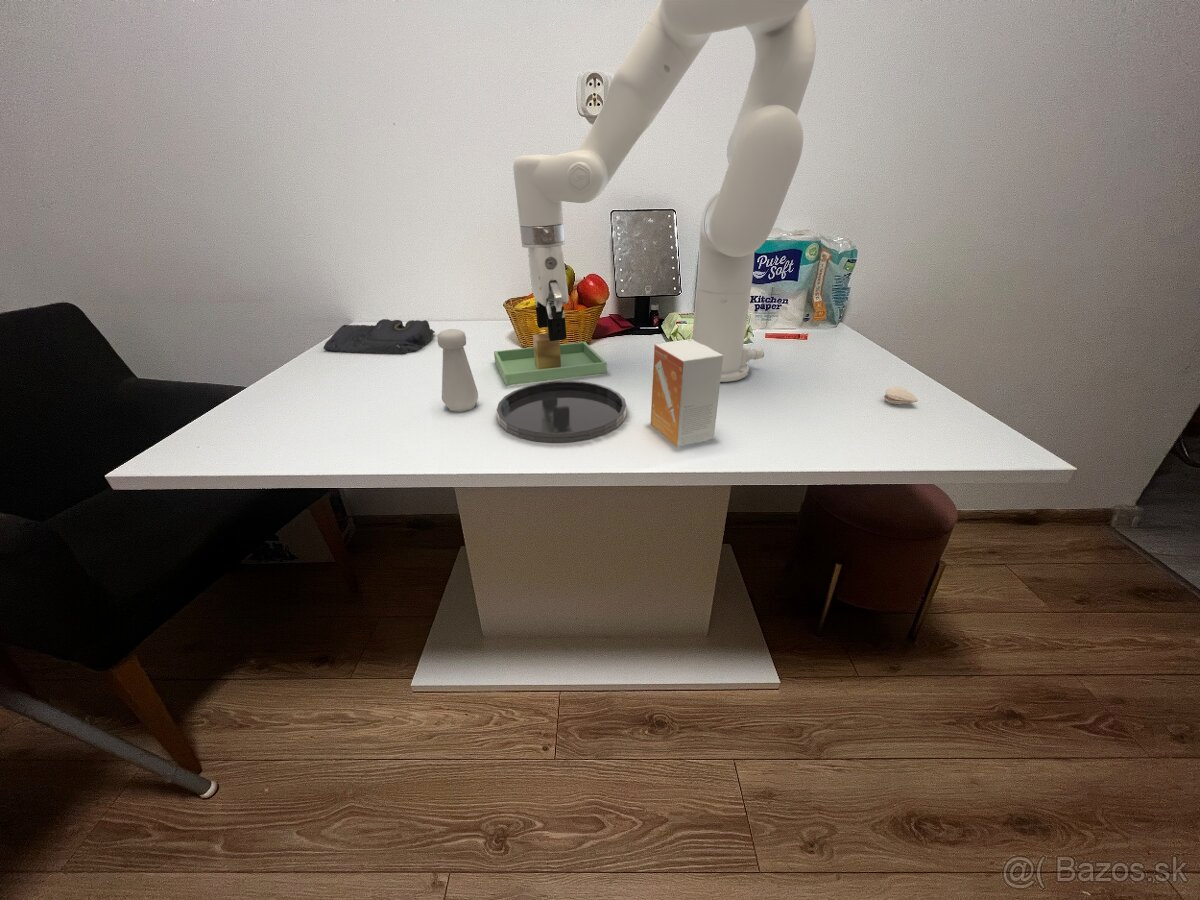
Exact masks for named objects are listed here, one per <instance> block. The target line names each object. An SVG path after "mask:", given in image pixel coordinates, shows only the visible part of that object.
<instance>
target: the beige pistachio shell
mask: <svg viewBox="0 0 1200 900" xmlns="http://www.w3.org/2000/svg"><path fill="white" fill-rule="evenodd" d="M884 393H885V395H884V396H883V397H884V400H885V401H886V402H888V403H889V404H892V405H907V404H908V405H909V404H912V403H917V402H919V400H918V398H917V397H916V396H915V395H914V394H913V393H912V392H911V391H909V390H907V389H906V388H903V387H900V386H892V387H888V388H887V389H886V390H885V391H884Z"/></svg>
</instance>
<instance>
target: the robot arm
mask: <svg viewBox="0 0 1200 900" xmlns="http://www.w3.org/2000/svg"><path fill="white" fill-rule="evenodd" d="M808 1H809V0H659V2H658V3H657V5H656V7H655V8H654V10H653V11H652V13H651V14H650V16H649V18H648V19H647V21H646V23H645V25H644V26H643V27H642V30H641V31H640V33H639V34H638V36H637V37H636V39H635V40H634V43H633V44H632V45H631V47H630V49H629V50H628V51H627V53H626V55H625V56H624V58H623V60H622V61H621V63H620V64H619V66H618V68H617V69H616V70H615V73H614V75H613V77H612V79H611V81H610V83H609V86H608V89H607V93H606V96H605V99H604V101H603V104H602V106H601V109H600V110H599V113H598V115H597V117H596V118H595V120H594V122H593V124H592V125H591V127H590V129H589V130H588V132H587V134H586V135H585V137H584V138H583V140H582V142H581V143H580V145H579V146H578V147H577V149H576V150H573V151H569V152H564V153H560V154H553V155H552V154H547V153H544V154H543V153H542V154H524V155H520V156H517V157H516V158H515V159H514V161H513V166H512V168H513V169H512V170H513V179H514V186H515V197H516V204H517V205H516V206H517V214H518V222H519V231H520V241H521V242H520V243H521V247H522V248H526V249H527V254H528V264H529V265H528V266H529V276H530V285H531V291H532V296H533V298H534V299H535V301H534V303H535V312H536V313H535V314H536V324H537V325H536V326H537V328H539V329H542V328H543V329H544V328H547V334H548V335H549V340H550V341H557V340H560V341H563V340H567V325H566V313H565V307H564V305H567V304H568V303H569V288H568V280H567V273H566V272H567V271H566V264H565V258H564V252H563V247H562V246H564V245H565V244H566V243H565V242H566V241H565V227H564V216H563V203H562V202H565V203H566V202H567V203H575V204H586V203H589V202H592V201H594V200H595V199H596V198H597V197H599V196H600V195H601V194H602V193H603V191H604V190H605V189H606V188H607V186H608V184H609V183H610V181H611V180H612V178H613V177H614V175H615V174H616V173H617V171H618V169H619V168H620V167H621V165H622V163H623V162H624V161H625V159H626V157H627V156H628V154H630V151H632V149H633V148H634V146H635V144H636V143H637V142H638V140H639V139H640V138H641V136H642V135H643V134H644V133H645V131H646V130H647V129H649V127H650V126H651V124H652V123H653V122H654V120H655V119H656V117H657V116H658V114H659V113H660V112H661V110H662V108H663V107H664V105H665V104H666V103H667V101H668V100H669V98H670V96H671V95H672V94H673V92H674V91H675V89H676V87H677V86H678V85H679V83H680V82H681V80H682V79H683V78H684V76H685V75H686V73H687V72H688V70H689V69H690V68H691V66H692V64H693V63H694V61H695V60H696V58H697V56H698V55H699V54H700V53H701V51H702V50H703V48H704V47H705V45H706V43H708V41H709V39H710V37H711V36H712V34H713V33H719V32H724V31H730V30H733V29H738V28H742V27H745V28H746V29H747V31H748V32H749V34H750V36H751V38H752V40H753V44H754V49H755V53H754V55H755V56H754V63H753V67H752V71H751V73H750V77H749V81H748V85H747V89H746V91H745V95H744V97H743V100H742V103H741V106H740V109H739V112H738V115H737V117H736V120H735V123H734V125H733V128H732V131H731V133H730V136H729V138H728V142H727V146H726V158H727V163H728V166H727V169H726V171H725V174H724V178H723V181H722V184H721V187H720V189H719V190H717V192H715V193H714V194H712V196H710V197H709V199H708V200H707V201H706V203H705V205H704V207H703V209H702V212H701V215H700V220H699V229H698V230H699V231H698V260H697V261H698V262H697V263H698V264H697V279H696V280H697V281H696V289H695V302H694V313H693V314H694V315H693V324H692V338H691V339H692V340H694V341H696V342H698V343H700V344H702V345H705V346H707V347H709V348H711V349H712V350H714V351H716V352H718V353H720V354H722V355H723V361H722V369H721V379H720V383H727V382H735V381H739V380H742V379H745V378H746V377H747V376H748V374H749V369H750V367H749V365H748V364H747V363H749V362H750V361H751V360H761V359H764V357H765V350H764V348H756V349H751V346H745V347H744V344H745V337H746V328H747V321H748V314H749V304H750V297H751V290H752V284H753V278H754V277H753V276H754V266H755V252H756V251H758V250H759V249H760V248H761V247H762V245H764V244H765V243H766V241H767V239H768V238H769V236H770V234H771V232H772V230H773V228H774V226H775V224H776V221H777V219H778V216H779V214H780V211H781V209H782V206H783V204H784V202H785V198H786V196H787V195H788V191H789V189H790V186H791V184H792V181H793V178H794V176H795V174H796V170H797V168H798V165H799V164H800V160H801V156H802V152H803V147H804V130H803V126H802V123H801V120H800V119H799V117H798V115H799V112H800V110H801V106H802V103H803V100H804V97H805V94H806V91H807V89H808V85H809V82H810V79H811V76H812V72H813V68H814V64H815V60H816V51H817V39H816V31H815V26H814V21H813V17H812V14H811V11H810V8H809V6H808ZM563 304H564V305H563Z"/></svg>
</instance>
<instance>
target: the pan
mask: <svg viewBox="0 0 1200 900" xmlns="http://www.w3.org/2000/svg"><path fill="white" fill-rule="evenodd" d="M496 416H497V417H496V418H497V420H498V423H499V426H500V427H501V428H502V429H503V430H504V431H506V432H507V433H509V434H511V435H512V436H515V437H517V438H519V439H523V440H527V441H531V442H539V443H546V444H547V443H550V444H565V443H576V442H577V443H578V442H582V441H587V440H591V439H592V440H593V439H595V438H599V437H602V436H604V435H607V434H609V433H611V432H613V431H614V430H616V429H618V428H619V427H620V426H621V425H622V424H623V423H624V421H625V419H626V416H627V403H626V399H625V398H624V397H623V396H622V395H621V393H620V392H618V391H617V390H614V389H612V388H610V387H608V386H605V385H601V384H598V383H594V382H589V381H580V380H579V381H578V380H577V381H576V380H555V381H553V380H552V381H547V382H546V381H544V382H540V383H534V384H531V385H526V386H524V387H521V388H518V389H516V390H513V391H511V392H510V393H508V394H507V395H505V396H503V398H502V399H501V400H500V401H499V402H498V404H497V407H496Z"/></svg>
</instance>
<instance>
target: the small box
mask: <svg viewBox="0 0 1200 900" xmlns="http://www.w3.org/2000/svg"><path fill="white" fill-rule="evenodd" d="M653 347H654V348H653V366H652V386H651V387H652V388H651V389H652V390H651V404H650V405H651V408H650V426H652V427H653V428H654V429H656V430H657V431H658V432H659V433H661V434H662V435H663V436H664V437H665V438H666V439H668V440H669V441H670V442H671V443H672V444H673V445H674V446H675V447H683V446H687V445H691V444H696V443H700V442H704V441H705V442H706V441H709V440H714V439H715V431H716V423H717V415H718V414H717V413H718V404H719V395H720V386H721V382H720V379H721V369H722V361H723V355H722V354H720V353H718V352H716V351H714V350H712V349H711V348H709V347H707V346H705V345H702V344H700V343H698V342H696V341H694V340H692V338H689V339H680V340H679V339H678V340H671V341H666V342H660V343H655V344H654V345H653Z"/></svg>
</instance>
